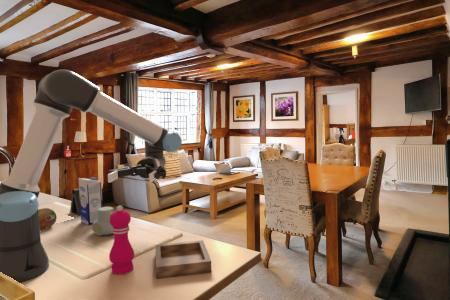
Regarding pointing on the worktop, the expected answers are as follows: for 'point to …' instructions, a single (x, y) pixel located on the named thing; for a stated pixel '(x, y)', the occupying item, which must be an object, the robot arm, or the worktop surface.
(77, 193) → the door stopper
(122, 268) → the pepper mill
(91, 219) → the milk carton
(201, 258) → the walnut tray
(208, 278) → the worktop surface
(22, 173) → the robot arm
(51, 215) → the tin
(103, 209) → the air freshener
